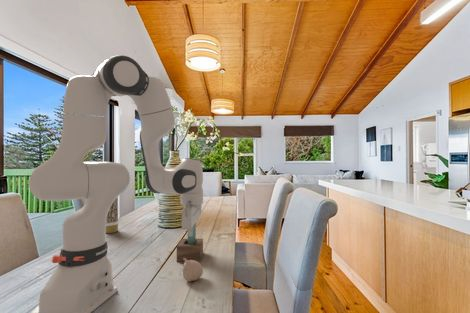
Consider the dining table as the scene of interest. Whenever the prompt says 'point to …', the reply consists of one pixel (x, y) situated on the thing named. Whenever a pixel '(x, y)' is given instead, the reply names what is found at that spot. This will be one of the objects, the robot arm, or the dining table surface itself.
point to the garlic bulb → (192, 270)
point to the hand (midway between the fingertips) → (192, 234)
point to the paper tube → (112, 218)
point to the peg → (192, 238)
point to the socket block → (189, 250)
